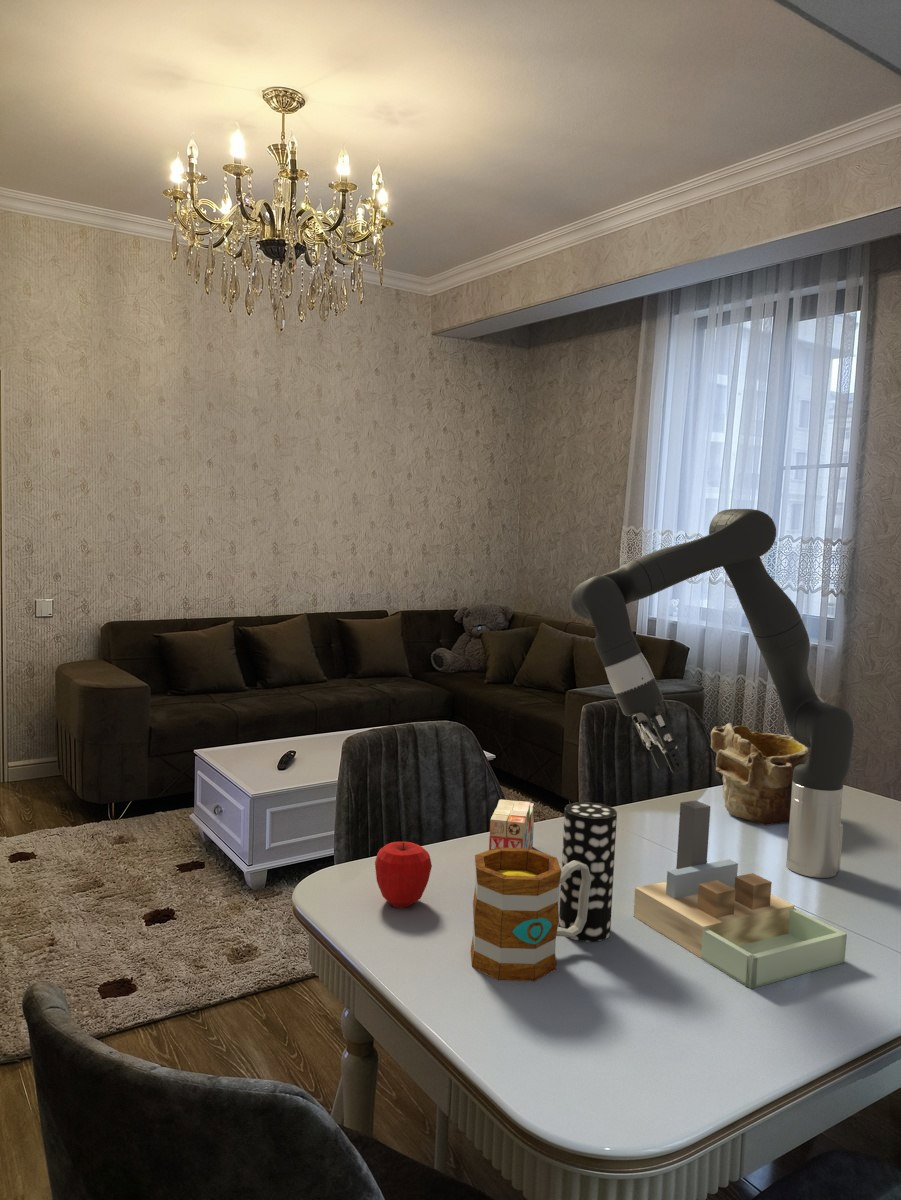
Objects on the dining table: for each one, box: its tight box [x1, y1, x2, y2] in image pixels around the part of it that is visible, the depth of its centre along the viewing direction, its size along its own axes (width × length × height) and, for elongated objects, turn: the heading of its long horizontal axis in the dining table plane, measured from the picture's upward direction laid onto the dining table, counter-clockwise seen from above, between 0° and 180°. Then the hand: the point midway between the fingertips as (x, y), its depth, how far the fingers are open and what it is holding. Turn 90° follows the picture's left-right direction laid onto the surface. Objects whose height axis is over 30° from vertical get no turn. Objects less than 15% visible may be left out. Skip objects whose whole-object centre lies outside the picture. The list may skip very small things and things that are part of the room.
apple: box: [374, 841, 433, 909], centre depth 152 cm, size 10×10×11 cm
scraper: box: [666, 800, 739, 899], centre depth 151 cm, size 14×6×14 cm, turn 118°
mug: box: [470, 847, 591, 982], centre depth 134 cm, size 20×14×15 cm
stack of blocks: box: [488, 799, 535, 850], centre depth 172 cm, size 21×6×12 cm, turn 169°
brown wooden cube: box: [697, 880, 736, 918], centre depth 142 cm, size 4×4×4 cm
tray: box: [700, 907, 848, 990], centre depth 137 cm, size 20×10×4 cm, turn 118°
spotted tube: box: [558, 801, 618, 943], centre depth 144 cm, size 8×8×20 cm
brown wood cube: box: [734, 872, 772, 910], centre depth 146 cm, size 4×4×4 cm
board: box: [633, 880, 795, 959], centre depth 148 cm, size 20×16×5 cm
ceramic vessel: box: [710, 722, 810, 826], centre depth 206 cm, size 23×24×25 cm
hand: (671, 769), depth 155 cm, fingers open, 8 cm apart
